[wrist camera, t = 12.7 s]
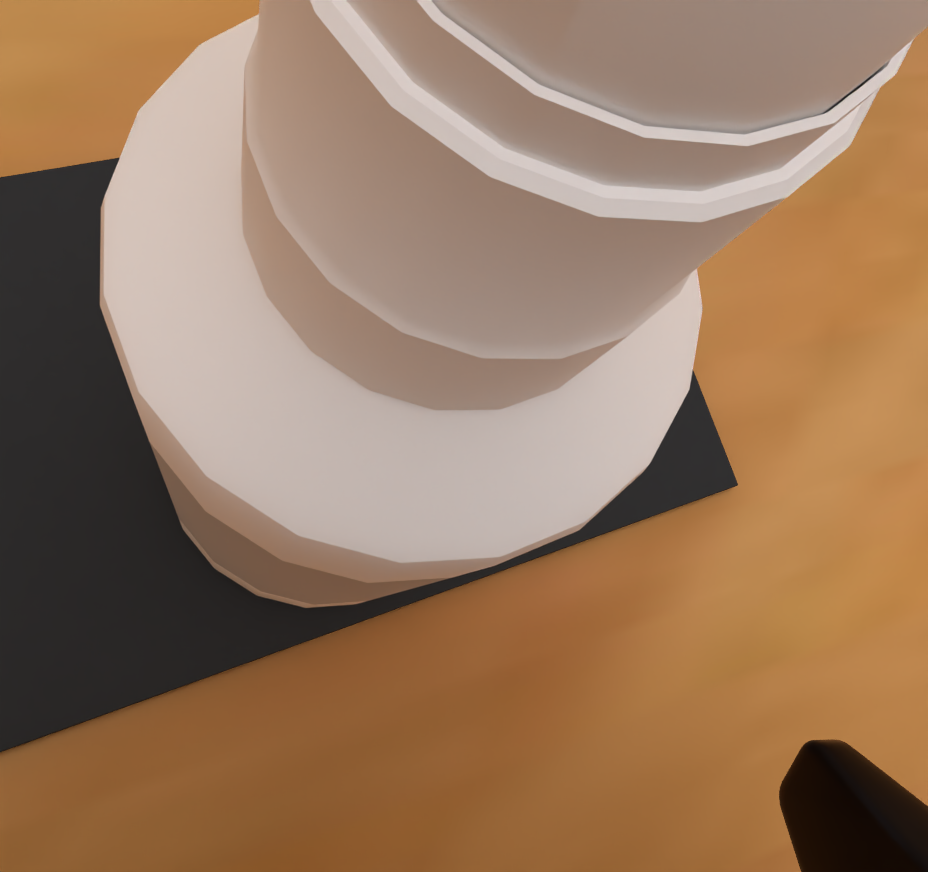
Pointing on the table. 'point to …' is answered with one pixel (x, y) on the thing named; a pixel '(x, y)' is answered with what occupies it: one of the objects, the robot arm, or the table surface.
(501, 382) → the spray bottle
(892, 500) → the table surface
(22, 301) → the pad
